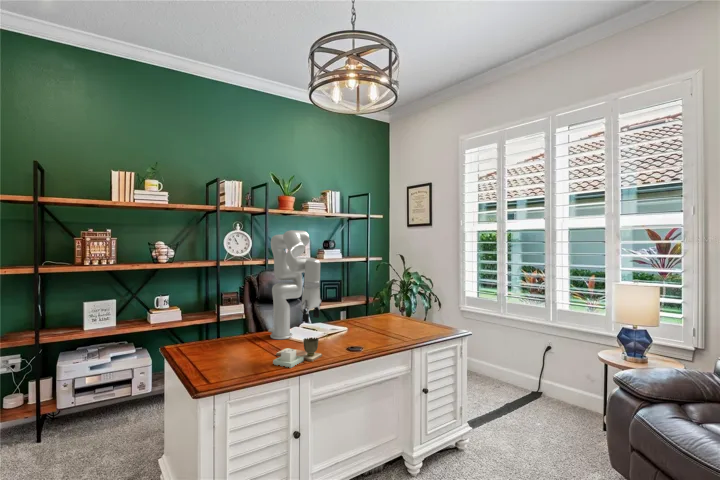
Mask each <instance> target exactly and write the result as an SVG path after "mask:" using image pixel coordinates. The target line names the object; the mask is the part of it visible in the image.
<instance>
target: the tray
mask: <svg viewBox="0 0 720 480" xmlns="http://www.w3.org/2000/svg"><path fill="white" fill-rule="evenodd" d="M304 361H305V360H304V357H300V356H296V360H295V361H293V362H291V363H290V362H285V361H281V356H278V357H276V358H275V359H273V360H272V364H274V366H278V365H280V366H279V367H283V366H285V367H284V368H288V367H289V368H290V369H292V368H294V367H296V366H297V364H298V365H300V364H302V363H303V362H304ZM299 363H300V364H299ZM295 365H296V366H295Z"/></svg>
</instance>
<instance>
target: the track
mask: <svg viewBox="0 0 720 480" xmlns="http://www.w3.org/2000/svg"><path fill="white" fill-rule="evenodd" d="M286 349H292V350H296V356H300V357H304V361H306V360H307V361H308V362H311V361H312V362H313V363H314V362H315V361H316V360H318V359H320V358H321V357H323V354H322V353H319V352H314V353H315V354H314V356H308V355H307V352H306V351H305V350H300V349H294V348H289V347H288V348H287V347H286V348H284V349H282V350H279V351H278V352H275V355H276V356H278V357H281V351H284V350H286ZM314 360H315V361H314ZM307 361H306V362H307Z"/></svg>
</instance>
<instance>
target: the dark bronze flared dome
mask: <svg viewBox="0 0 720 480" xmlns="http://www.w3.org/2000/svg"><path fill="white" fill-rule="evenodd" d="M302 340H303V348H304V351H306V352H307V355H308V356H314V354H315V353H317V350H318V347H319V338H318V337H306V338H304V339H302Z"/></svg>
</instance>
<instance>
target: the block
mask: <svg viewBox="0 0 720 480" xmlns="http://www.w3.org/2000/svg"><path fill="white" fill-rule="evenodd" d="M285 349H286V348H285ZM292 349H293V348H290V349H286V350H284V349H283V350H284V351H282V350H280V351H281V356H280V357H281V361H285V362H290V363H291V362H293V361H295V360H296V350H297V349H296V350H292Z"/></svg>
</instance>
